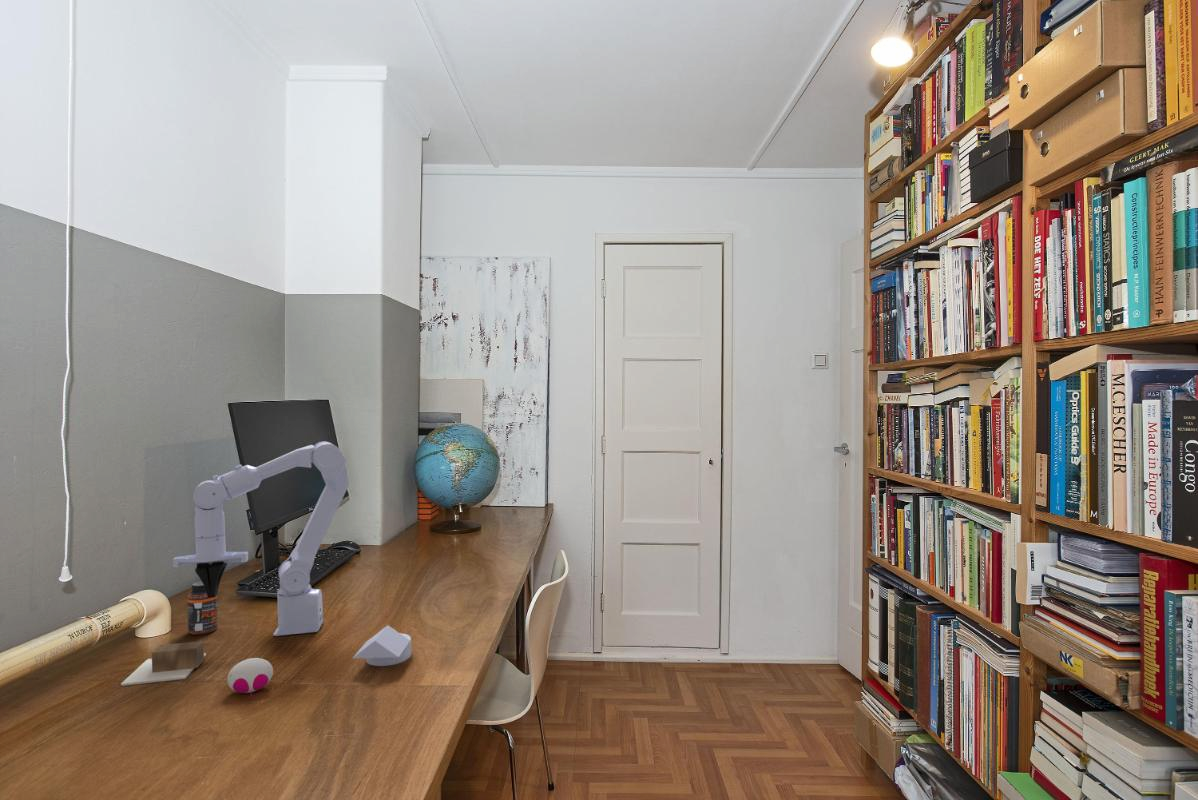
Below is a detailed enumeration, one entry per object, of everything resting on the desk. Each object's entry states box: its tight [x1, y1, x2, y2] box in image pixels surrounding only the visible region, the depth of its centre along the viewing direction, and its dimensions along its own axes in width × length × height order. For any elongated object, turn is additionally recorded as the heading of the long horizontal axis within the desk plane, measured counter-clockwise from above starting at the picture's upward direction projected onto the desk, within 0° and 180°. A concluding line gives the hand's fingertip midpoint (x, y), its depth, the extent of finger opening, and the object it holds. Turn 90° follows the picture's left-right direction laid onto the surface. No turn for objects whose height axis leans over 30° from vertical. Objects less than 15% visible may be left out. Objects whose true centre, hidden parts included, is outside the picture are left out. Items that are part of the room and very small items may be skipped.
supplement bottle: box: [187, 581, 219, 636], centre depth 157 cm, size 6×6×11 cm
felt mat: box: [120, 652, 207, 687], centre depth 135 cm, size 11×12×1 cm
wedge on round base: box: [352, 624, 412, 667], centre depth 137 cm, size 9×7×13 cm
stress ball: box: [226, 657, 274, 697], centre depth 125 cm, size 8×8×7 cm
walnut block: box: [151, 640, 205, 673], centre depth 136 cm, size 4×4×8 cm
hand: (212, 596), depth 149 cm, fingers closed
